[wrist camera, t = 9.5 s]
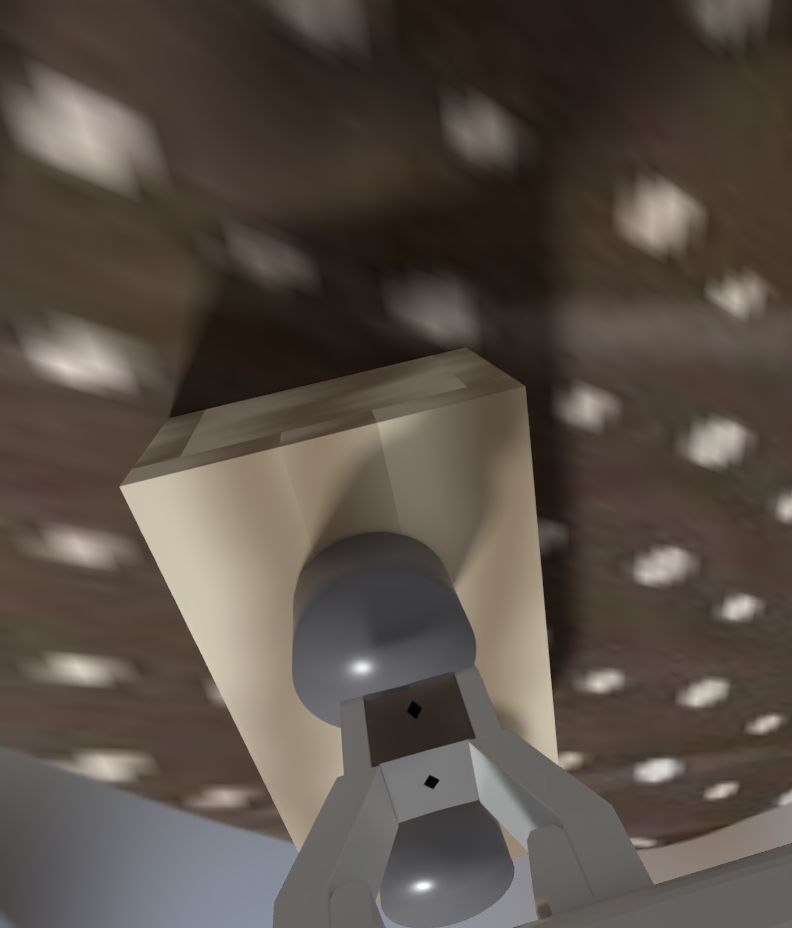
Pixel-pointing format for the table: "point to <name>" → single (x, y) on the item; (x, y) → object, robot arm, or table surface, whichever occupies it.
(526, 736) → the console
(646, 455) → the table surface
